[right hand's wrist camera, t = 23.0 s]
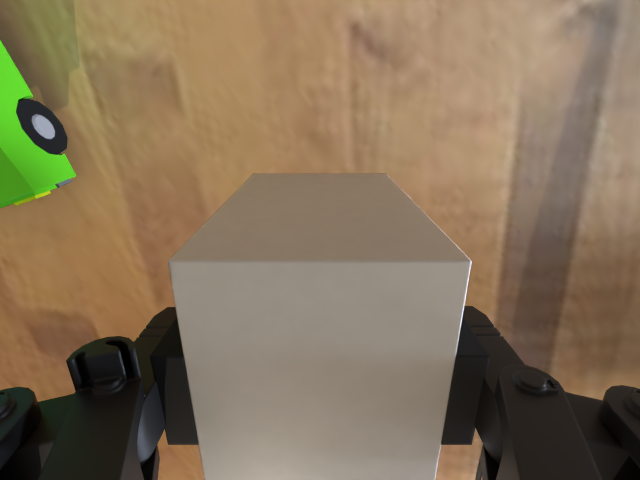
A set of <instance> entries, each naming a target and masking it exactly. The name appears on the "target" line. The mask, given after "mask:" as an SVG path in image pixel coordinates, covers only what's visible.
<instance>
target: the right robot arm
mask: <svg viewBox="0 0 640 480" xmlns="http://www.w3.org/2000/svg"><path fill="white" fill-rule="evenodd" d="M66 362H67V365H68V368H69V372H70V375H71V378H72V381H73V384H74V387H75V390H76V392H75V393H74V394H71V395H67V396H63V397H58V398H54V399H49V400H45V401H41V402H37V399H36V396H35V394H34V392H33V391H32V390H30V389H29V388H23V387H15V388H9V389H4V390H1V391H0V480H157V479H158V470H159V461H160V458H159V451H158V446H157V443H158V441H159V439H160V437H161V435H162V433H163V431H164V429H165V432H166V437H167V442H168V445H198V444H199V443H198V437H197V431H196V425H195V419H194V413H193V408H192V402H191V396H190V390H189V384H188V378H187V372H186V366H185V360H184V354H183V348H182V342H181V336H180V330H179V325H178V319H177V313H176V307H167V308H166V309H164V310H163V311H161V312H160V313H158V314H157V315H155V316H154V317H153V318H152V320H151V321H150V322H149V324H148V325H147V326H146V329H144V330H143V331H142V332H141V334H140V335H139V338H137V339H136V340H135V341H134V342H133V341H132V340H130V339H129V338H126V337H121V336H115V337H106V338H102V339H98V340H95V341H93V342H90V343H88V344H86V345H84V346H82V347H81V348H79V349H78V350H76V351H75V352H73V353H72V354H71V356H70V357H69V358H68V359H67V360H66ZM475 428H476V430H477V432H478V434H479V436H480V438H481V440H482V442H483V446H482V451H481V455H480V459H479V464H478V468H477V473H476V480H481V477H482V478H483V480H640V389H638V388H635V387H629V386H623V385H621V386H612V387H610V388H609V389H608V390H606V393H605V395H604V398H603V401H602V400H597V399H593V398H588V397H584V396H580V395H575V394H571V393H568V392H565V391H564V390H563V388H562V387H561V385H560V384H559V382H557V381H556V380H555V379H554V378H552V377H551V376H550V375H549V374H547V373H545V372H543V371H541V370H539V369H537V368H534V367H530V366H527V365H525V364H524V363H523V362H522V360H521V359H520V358H519V357H518V355H517V354H516V353H515V352H514V350H513V349H512V348H511V346H510V345H509V344H508V343H507V341H506V340H505V339H504V338H503V336H501V334H500V333H499V331H498V330H497V329H496V328H494V325H493V324H492V322H491V321H490V320H489V319H488V317H487V316H486V315H485V314H483V313H482V312H480V311H479V310H477V309H476V308H474V307H473V306H464V311H463V316H462V322H461V328H460V334H459V340H458V346H457V352H456V358H455V364H454V370H453V376H452V382H451V388H450V394H449V400H448V406H447V412H446V418H445V424H444V430H443V436H442V441H441V444H442V445H472V440H473V436H474V431H475Z"/></svg>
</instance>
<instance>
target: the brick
mask: <svg viewBox="0 0 640 480" xmlns="http://www.w3.org/2000/svg"><path fill="white" fill-rule="evenodd" d="M471 263H472V262H471V260H470V259H469V258H468V257H467V256H466V255H465V254H464V253H463V252H462V251H461V249H460V248H459V247H458V246H457V245H456V244H455V243H454V242H453V241H452V240H451V239H450V238H449V237H448V236H447V235H446V234H445V233H444V232H443V231H442V230H441V229H440V228H439V227H438V226H437V225H436V224H435V223H434V222H433V221H432V220H431V219H430V218H429V217H428V216H427V215H426V214H425V213H424V212H423V211H422V210H421V209H420V208H419V206H418V205H417V204H416V203H415V202H414V201H413V200H412V199H411V198H410V197H409V196H408V195H407V194H406V193H405V192H404V191H403V190H402V189H401V188H400V187H399V186H398V185H397V184H396V183H395V182H394V181H393V180H392V179H391V178H390V177H389V176H388V175H387V174H386V173H254V174H253V175H252V176H251V177H250V178H249V179H248V180H247V181H246V182H245V183H244V184H243V185H242V186H241V187H240V188H239V189H238V190H237V191H236V192H235V193H234V194H233V195H232V196H231V197H230V198H229V199H228V200H227V201H226V202H225V203H224V204H223V205H222V206H221V207H220V208H219V209H218V210H217V211H216V212H215V213H214V214H213V215H212V216H211V217H210V218H209V220H208V221H207V222H206V223H205V224H204V225H203V226H202V227H201V228H200V229H199V230H198V231H197V232H196V233H195V234H194V235H193V236H192V237H191V238H190V239H189V240H188V241H187V242H186V243H185V244H184V245H183V246H182V247H181V248H180V249H179V250H178V251H177V252H176V253H175V254H174V255H173V256H172V257H171V258H170V259H169V261H168V265H169V271H170V277H171V283H172V289H173V295H174V301H175V307H176V313H177V319H178V325H179V330H180V336H181V342H182V348H183V354H184V360H185V366H186V372H187V378H188V384H189V390H190V396H191V402H192V408H193V413H194V419H195V425H196V431H197V437H198V443H199V449H200V455H201V461H202V467H203V473H204V479H205V480H435V477H436V471H437V465H438V459H439V453H440V447H441V441H442V436H443V430H444V424H445V418H446V412H447V406H448V400H449V394H450V388H451V382H452V376H453V370H454V364H455V358H456V352H457V346H458V340H459V334H460V328H461V322H462V316H463V311H464V305H465V299H466V293H467V287H468V281H469V275H470V269H471Z"/></svg>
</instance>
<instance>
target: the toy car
mask: <svg viewBox="0 0 640 480" xmlns="http://www.w3.org/2000/svg"><path fill="white" fill-rule="evenodd" d="M32 97H33V95H32V93H31V92H30V90H29V88H28V86H27V84H26V83H25V81H24V79H23V78H22V76H21V74H20V73H19V71H18V69H17V67H16V66H15V64H14V62H13V61H12V59H11V57H10V56H9V54H8V52H7V51H6V49H5V47H4V45H3V44H2V42H1V40H0V208H2V207H5V206H8V205H11V204H14V205H15V206H17V205H20V204H23V203H26V202H29V201H31V200H34V199H37V198H40V197H43V196H45V195H48V194H51V192H50V190H52V189H55V188H58V187H61V186H63V185H65V184H67V183H70V182H72V180H71V179H70V178H72V177H75V176H76V174H75V172H74V170H73V168H72V167H71V165H70V163H69V161H68V159H67V157H66V156H65V154H64V153H63V154H61V155H57V154H60V153H61V152H62V151H64V150H65V149H66V148H67V136H66V133H65V130H64V128H63V125H62V124H61V122H60V121H59V120H58V119H57V117H56V116H55V115H54V113H53V112H52V111H50V110H49V109H48V108H46V107H45V106H44V105H42V104H41V103H40V102H37V101H33V100H30V98H32Z"/></svg>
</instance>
